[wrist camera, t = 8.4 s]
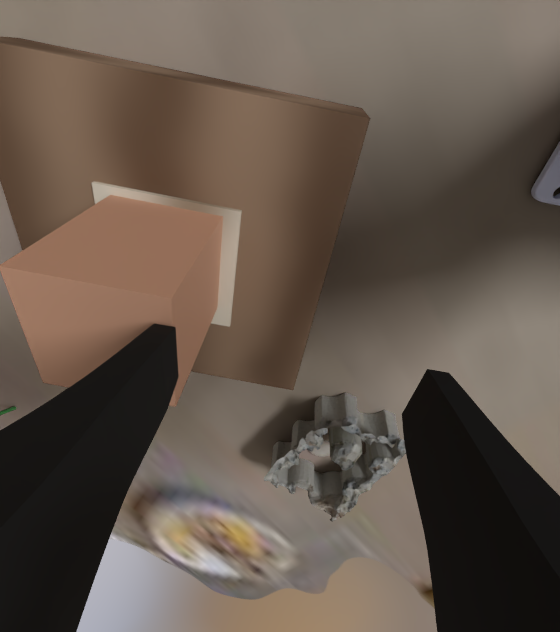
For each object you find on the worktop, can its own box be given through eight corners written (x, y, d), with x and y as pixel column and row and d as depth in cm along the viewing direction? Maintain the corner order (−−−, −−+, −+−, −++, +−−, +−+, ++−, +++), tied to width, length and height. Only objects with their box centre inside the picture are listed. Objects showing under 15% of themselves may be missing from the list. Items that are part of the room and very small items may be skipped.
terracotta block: (223, 216, 14) (171, 298, 9) (217, 307, 17) (175, 406, 12) (110, 194, 14) (-2, 266, 9) (123, 289, 17) (43, 382, 12)
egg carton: (330, 477, 31) (331, 525, 28) (259, 447, 30) (251, 495, 26) (415, 420, 26) (429, 473, 22) (332, 377, 24) (334, 429, 20)
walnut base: (361, 108, 14) (370, 119, 11) (296, 354, 22) (293, 392, 20) (17, 38, 14) (-52, 32, 11) (82, 314, 22) (50, 347, 20)
